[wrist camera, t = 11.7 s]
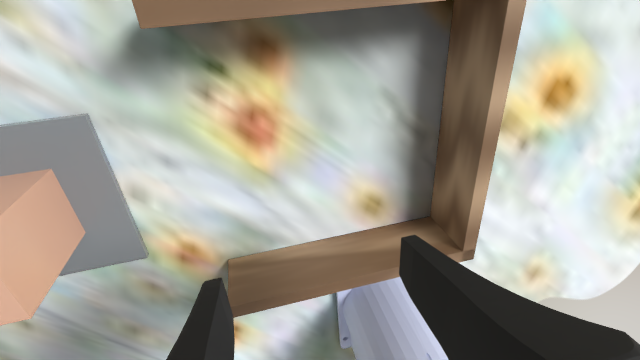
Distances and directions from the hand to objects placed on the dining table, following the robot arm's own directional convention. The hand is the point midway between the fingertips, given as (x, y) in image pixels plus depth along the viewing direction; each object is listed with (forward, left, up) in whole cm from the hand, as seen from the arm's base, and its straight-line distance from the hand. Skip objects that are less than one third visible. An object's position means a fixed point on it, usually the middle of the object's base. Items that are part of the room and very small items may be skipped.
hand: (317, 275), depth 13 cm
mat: (0, +15, -10) cm, 18 cm away
